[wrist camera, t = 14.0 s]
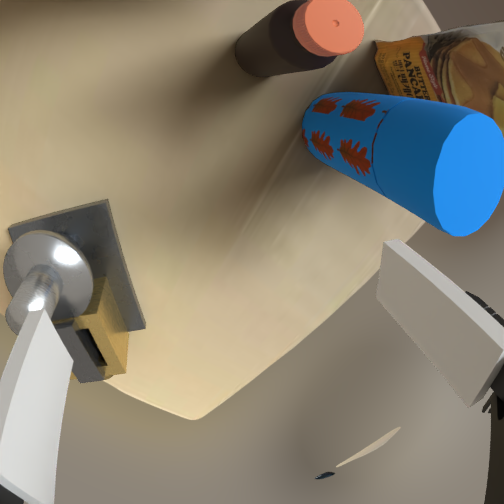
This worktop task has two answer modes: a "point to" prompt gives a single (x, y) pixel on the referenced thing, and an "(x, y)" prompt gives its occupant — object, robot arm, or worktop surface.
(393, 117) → the thermos
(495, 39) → the pancake mix bag
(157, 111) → the worktop surface
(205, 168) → the worktop surface
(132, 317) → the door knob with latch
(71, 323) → the grey slab block
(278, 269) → the worktop surface
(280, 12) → the bottle
